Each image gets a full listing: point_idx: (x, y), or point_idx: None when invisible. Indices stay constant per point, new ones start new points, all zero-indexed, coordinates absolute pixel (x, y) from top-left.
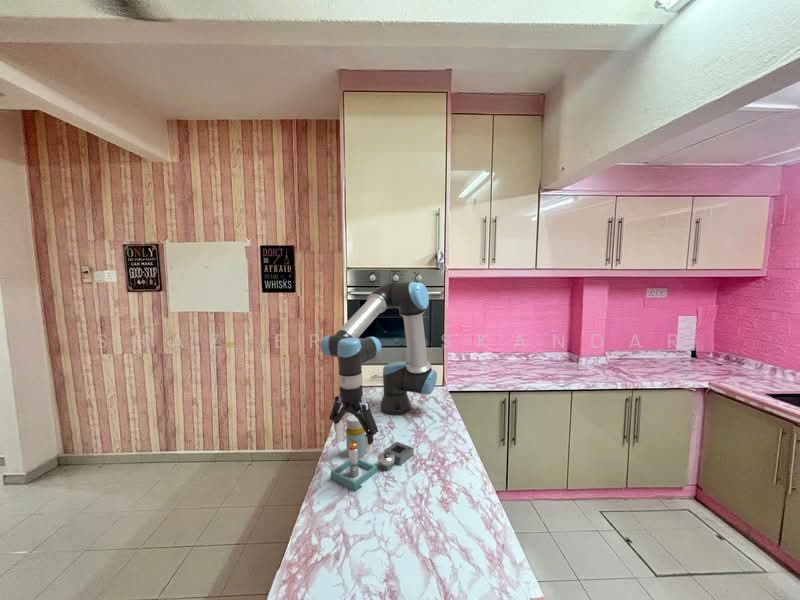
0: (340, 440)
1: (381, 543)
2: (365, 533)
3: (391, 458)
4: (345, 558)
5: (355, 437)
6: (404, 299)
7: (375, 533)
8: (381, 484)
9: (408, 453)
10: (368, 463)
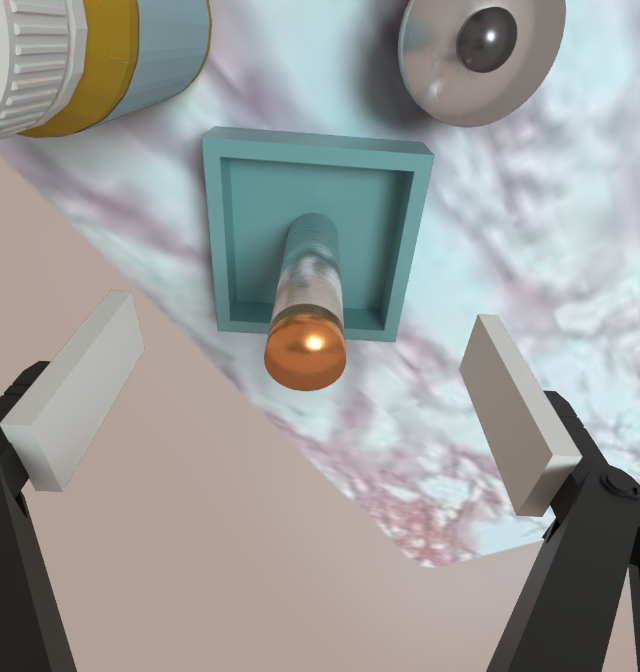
0: (137, 324)
1: (602, 437)
2: None
3: (539, 44)
4: None
5: (123, 103)
6: None
7: None
8: (487, 207)
9: None
10: (356, 155)
